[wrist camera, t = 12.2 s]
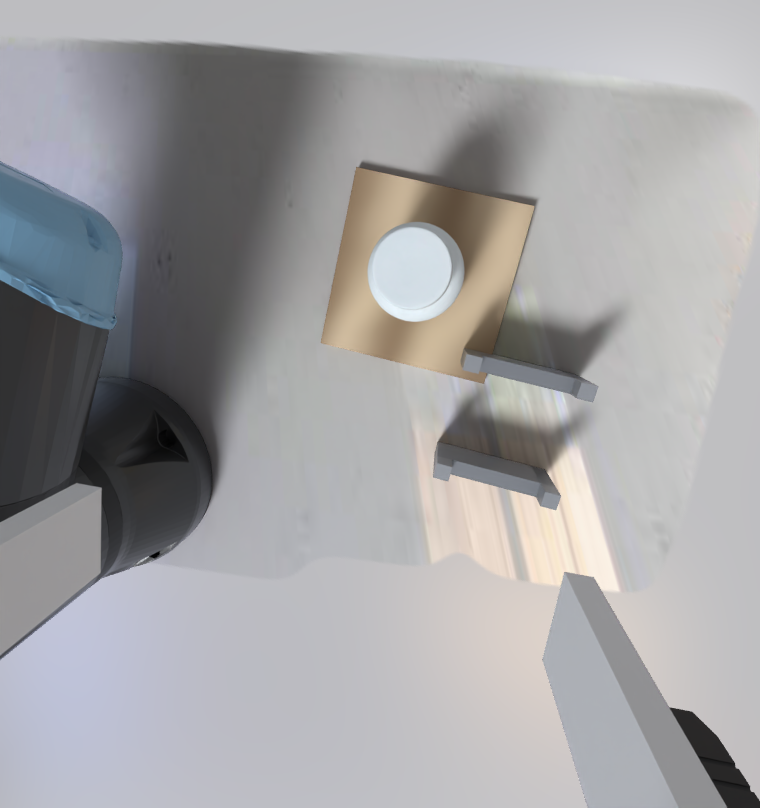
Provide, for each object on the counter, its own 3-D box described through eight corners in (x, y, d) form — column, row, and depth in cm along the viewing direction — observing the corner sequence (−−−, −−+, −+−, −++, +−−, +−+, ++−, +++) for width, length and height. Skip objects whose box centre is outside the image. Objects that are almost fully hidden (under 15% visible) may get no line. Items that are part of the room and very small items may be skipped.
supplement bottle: (475, 290, 33) (488, 284, 24) (409, 334, 34) (397, 345, 25) (432, 221, 32) (428, 188, 23) (367, 268, 33) (337, 254, 24)
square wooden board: (322, 342, 36) (320, 342, 35) (357, 169, 33) (356, 167, 32) (483, 382, 35) (483, 383, 34) (533, 207, 32) (534, 206, 31)
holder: (434, 454, 36) (433, 477, 31) (463, 347, 34) (467, 354, 29) (540, 482, 36) (556, 510, 31) (576, 374, 34) (598, 386, 29)
